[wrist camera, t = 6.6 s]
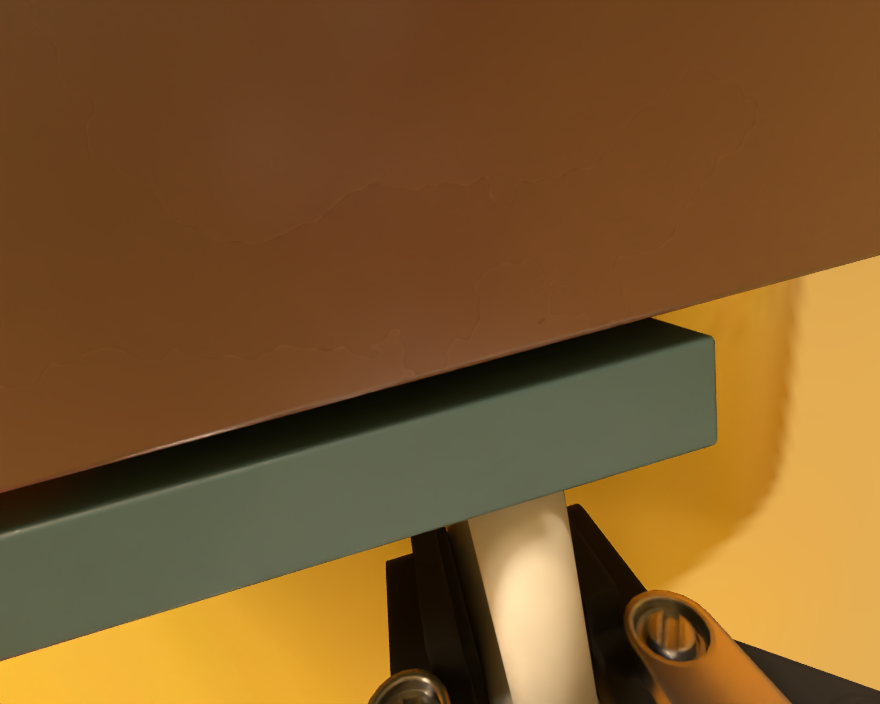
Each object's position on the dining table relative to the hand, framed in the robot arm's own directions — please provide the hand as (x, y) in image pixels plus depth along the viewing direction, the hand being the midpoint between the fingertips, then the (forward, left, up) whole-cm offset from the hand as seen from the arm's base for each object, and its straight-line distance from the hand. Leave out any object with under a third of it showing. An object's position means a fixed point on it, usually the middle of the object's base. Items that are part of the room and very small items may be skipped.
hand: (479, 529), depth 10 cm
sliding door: (-3, -2, -4) cm, 5 cm away
